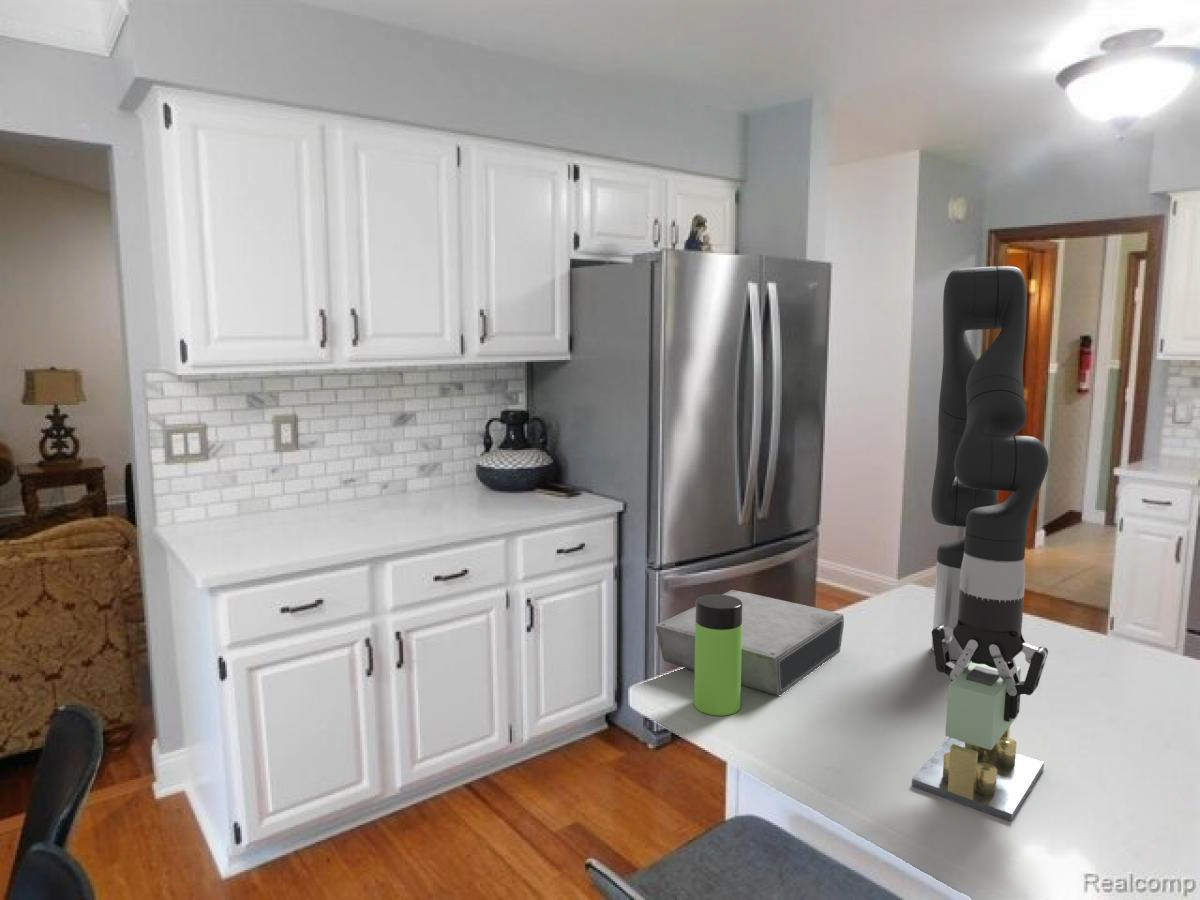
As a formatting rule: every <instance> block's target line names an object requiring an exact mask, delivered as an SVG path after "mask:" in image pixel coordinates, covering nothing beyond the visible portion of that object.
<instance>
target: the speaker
mask: <svg viewBox="0 0 1200 900" xmlns="http://www.w3.org/2000/svg"><path fill="white" fill-rule="evenodd" d="M721 595H728V596H732V597H735V598H738V599H739V600H741V601H742V603H743V608H742V651H741V686H743V687H746V688H749V687H750V689H753V690H756V689H757V691H760V692H763V691H764V692H763V693H768V694H771V695H774V696H777V695H778V697H780V696H779V695H782V694H783V693H784V692H786V691H787V690H788V691H790V690H791V689H792V688H791V687H792V686H794V685H795V684H797V683H798V682H799V681H801V680H802V679H803V678H804V677H806V676H807V675H809V674H810V673H811V672H813V671H814V670H815V669H817V668H818V667H819V666H821V665H822V664H823V663H825V662H826V661H827V662H829V661H830V660H832V659H833V658H834V657H836V656H837V655H838V654H839V653H840V652H841V647H842V642H843V641H842V640H843V634H844V626H845V618H844V617H845V616H844V614H842V613H838V612H834V611H831V610H826V609H822V608H818V607H814V606H810V605H804V604H801V603H796V602H791V601H787V600H782V599H778V598H773V597H769V596H765V595H760V594H756V593H755V594H754V593H751V592H745V591H739V590H735V589H731V590H729V591H727V592H724V593H722V594H721ZM695 615H696V606H693V607H691V608H690V609H687V610H685V611H683V612H680V613H679V614H676V615H674V616H671V617H670V618H668V619H665V620H663V621H660V622H659V623H657V624H656V625H655V631H656V637H657V640H658V644H659V647H660V651H661V658H662V659H663V661H664V662H666V663H669V664H672V665H675V666H677V667H680V668H681V667H682V668H685V669H688V670H691V671H694V672H695ZM836 654H837V655H836ZM832 657H833V658H832ZM829 659H830V660H829ZM828 660H829V661H828ZM827 662H826V663H827ZM826 663H825V664H826ZM823 665H824V664H823ZM823 665H822V666H823ZM822 666H821V667H822ZM819 668H820V667H819ZM819 668H818V669H819ZM818 669H817V670H818ZM815 671H816V670H815ZM815 671H814V672H815ZM814 672H813V673H814ZM811 674H812V673H811ZM811 674H810V675H811ZM810 675H809V676H810ZM807 677H808V676H807ZM807 677H806V678H807ZM803 680H804V679H803ZM803 680H802V681H803ZM802 681H801V682H802ZM799 683H800V682H799ZM799 683H798V684H799ZM798 684H797V685H798ZM795 686H796V685H795ZM795 686H794V687H795ZM790 688H791V689H790ZM789 689H790V690H789ZM788 691H787V692H788ZM787 692H786V693H787ZM784 694H785V693H784ZM784 694H783V695H784ZM783 695H782V696H783Z"/></svg>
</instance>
